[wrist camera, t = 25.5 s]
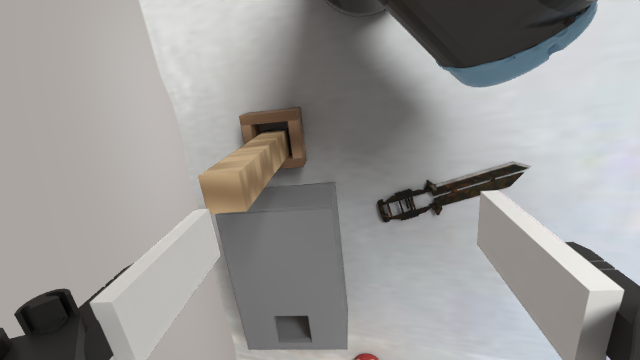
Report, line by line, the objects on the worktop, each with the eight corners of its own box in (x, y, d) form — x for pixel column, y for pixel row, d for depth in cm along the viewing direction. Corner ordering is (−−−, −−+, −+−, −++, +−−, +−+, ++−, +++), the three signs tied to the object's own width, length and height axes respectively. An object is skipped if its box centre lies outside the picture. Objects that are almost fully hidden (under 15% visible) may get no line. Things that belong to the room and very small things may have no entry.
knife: (527, 156, 49) (532, 159, 48) (529, 192, 51) (534, 195, 50) (374, 190, 53) (375, 193, 52) (382, 222, 55) (382, 226, 54)
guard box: (237, 189, 55) (214, 213, 46) (334, 182, 53) (331, 206, 44) (263, 310, 64) (249, 351, 55) (347, 308, 62) (347, 351, 53)
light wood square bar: (265, 130, 51) (198, 176, 29) (287, 128, 51) (238, 172, 28) (269, 153, 52) (208, 214, 30) (291, 151, 52) (246, 211, 29)
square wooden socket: (247, 112, 50) (239, 116, 47) (299, 107, 49) (295, 110, 45) (256, 164, 53) (249, 171, 50) (306, 160, 52) (303, 166, 48)
